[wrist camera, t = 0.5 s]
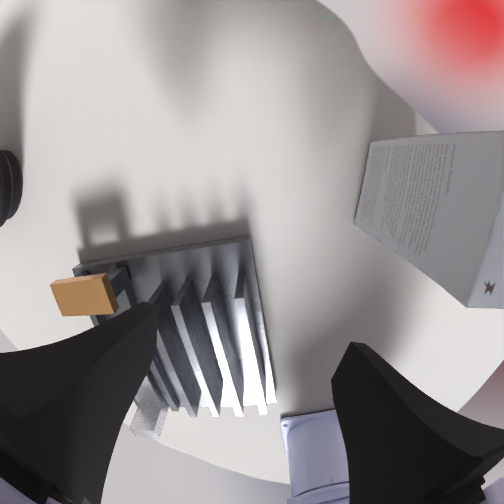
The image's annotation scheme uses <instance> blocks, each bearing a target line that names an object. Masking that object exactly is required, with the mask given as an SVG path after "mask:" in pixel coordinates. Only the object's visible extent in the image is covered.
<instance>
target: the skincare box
mask: <svg viewBox="0 0 504 504" xmlns="http://www.w3.org/2000/svg"><path fill="white" fill-rule="evenodd" d="M354 224H355V225H356V226H357V227H359V228H360V229H362V230H363V231H365V232H366V233H368V234H369V235H371V236H372V237H374V238H375V239H377V240H378V241H380V242H381V243H382V244H384V245H385V246H387V247H388V248H390V249H391V250H392V251H394V252H395V253H397V254H398V255H399V256H401V257H402V258H404V259H405V260H406V261H408V262H409V263H411V264H412V265H413V266H415V267H416V268H417V269H419V270H420V271H421V272H423V273H424V274H425V275H427V276H428V277H429V278H431V279H432V280H433V281H434V282H436V283H437V284H439V285H440V286H441V287H443V288H444V289H445V290H446V291H447V292H448V293H450V294H451V295H452V296H453V297H454V298H456V299H457V300H458V301H459V302H460V303H461V304H462V305H464V306H465V307H468V308H499V309H504V131H478V132H462V133H460V132H457V133H443V134H430V135H420V136H410V137H400V138H392V139H384V140H377V141H372V142H370V147H369V153H368V159H367V165H366V170H365V175H364V180H363V185H362V190H361V195H360V200H359V204H358V209H357V213H356V217H355V221H354Z"/></svg>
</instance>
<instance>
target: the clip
mask: <svg viewBox="0 0 504 504" xmlns="http://www.w3.org/2000/svg"><path fill="white" fill-rule="evenodd" d="M135 399H136V400H137V402H138V403H139V405H138V408H137V410H136V413H135V415H134V418H133V420H132V423H131V425H130V430H131V431H132V432H133V434H134V435H135V436H140V437H148V438H157V439H159V438H160V435H161V431H162V428H163V425H164V421H165V418H166V415H167V412H168V408H169V404H168V403H167V401H166V399H165V397H164V395H163V393H162V391H161V389H160V387H159V386H158V384H157V382H156V380H155V378H154V376H153V374H152V372H151V369H150V368H149V371H148V373H147V375H146V377H145V379H144V381H143V382H142V384H141V386H140V388H139V390H138V392H137V394H136V396H135Z"/></svg>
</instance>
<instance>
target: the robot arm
mask: <svg viewBox="0 0 504 504" xmlns="http://www.w3.org/2000/svg"><path fill="white" fill-rule="evenodd" d="M158 310H159V305H156V304H152V303H148V302H144V301H143V302H141V303H139V304H137V305H135V306H133V307H131V308H130V309H128V310H126V311H124V312H122V313H121V314H119V315H117V316H115V317H113V318H111V319H109V320H108V321H106V322H104V323H102V324H100V325H97V326H95V327H93V328H91V329H89V330H87V331H85V332H83V333H80V334H78V335H75V336H73V337H70V338H67V339H64V340H62V341H59V342H55V343H52V344H48V345H44V346H40V347H36V348H32V349H27V350H22V351H15V352H7V353H0V504H101V498H102V493H103V487H104V483H105V479H106V475H107V471H108V467H109V463H110V459H111V456H112V453H113V449H114V446H115V443H116V440H117V437H118V434H119V431H120V428H121V425H122V423H123V420H124V418H125V416H126V414H127V412H128V410H129V408H130V406H131V404H132V402H133V400H134V398H135V396H136V394H137V392H138V390H139V388H140V386H141V384H142V382H143V381H144V379H145V377H146V375H147V373H148V371H149V368H150V366H151V363H152V360H153V357H154V355H155V352H156V349H157V327H158ZM331 383H332V393H333V401H334V405H335V409H334V410H329V411H324V412H319V413H313V414H307V415H300V416H294V417H286V418H282V419H281V420H280V424H281V430H282V436H283V442H284V448H285V454H286V458H288V460H289V472H290V484H291V497H292V498H289V499H287V504H504V478H503V477H501V478H500V479H498V480H497V481H495V482H494V483H492V484H491V485H489V486H488V487H486V488H485V489H484V490H482V488H481V485H483V484H484V483H485V479H484V478H483V476H484V475H485V474H486V473H487V472H488V471H489V470H491V469H492V468H493V467H494V466H495V465H496V464H497V463H498V462H499V461H501V459H503V457H504V429H500V428H496V427H492V426H488V425H485V424H481V423H479V422H476V421H474V420H471V419H469V418H467V417H464V416H462V415H460V414H458V413H456V412H454V411H452V410H450V409H448V408H447V407H445V406H443V405H441V404H440V403H438V402H437V401H435V400H434V399H432V398H431V397H429V396H428V395H426V394H425V393H423V392H422V391H421V390H420V389H418V388H417V387H416V386H414V385H413V384H412V383H411V382H409V381H408V380H407V379H406V378H405V377H403V376H402V375H401V374H400V373H399V372H398V371H396V370H395V369H394V368H393V367H392V366H391V365H390V364H389V363H387V362H386V361H385V360H384V359H383V358H382V357H381V356H379V355H378V354H377V353H376V352H375V351H374V350H372V349H371V348H370V347H369V346H367V345H366V344H364V343H357V342H350V344H349V346H348V348H347V350H346V352H345V354H344V356H343V358H342V360H341V362H340V364H339V366H338V368H337V370H336V372H335V373H334V375H333V377H332V379H331Z"/></svg>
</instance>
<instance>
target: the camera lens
mask: <svg viewBox="0 0 504 504" xmlns="http://www.w3.org/2000/svg"><path fill="white" fill-rule="evenodd" d="M21 194H22V176H21V171H20V166H19V164H18V161H17V159H16V157H15V156H14V155H13V154H12V153H11V152H10V151H6V150H0V227H1V226H2V225H3V224H4V223H5V221H6V220H7V219H10V218H11V217H12V216H13V215H14V214H15V213H16V211H17V209H18V207H19V204H20V200H21Z"/></svg>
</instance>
